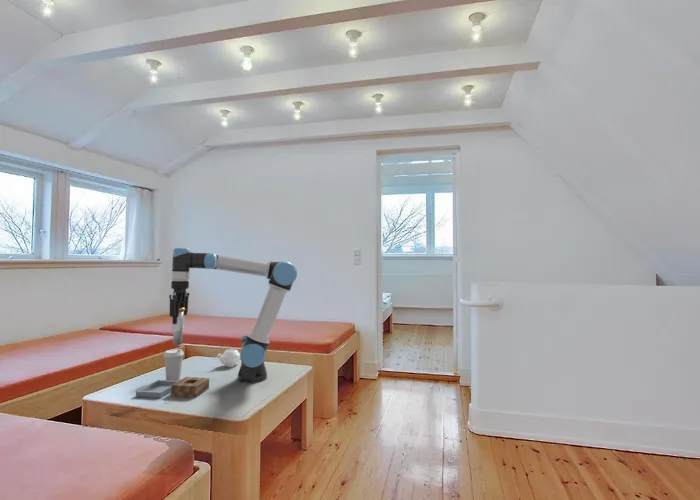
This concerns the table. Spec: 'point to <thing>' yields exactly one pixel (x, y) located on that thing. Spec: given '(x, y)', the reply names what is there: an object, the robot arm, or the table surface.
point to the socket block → (190, 387)
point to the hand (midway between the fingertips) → (178, 329)
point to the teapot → (229, 357)
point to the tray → (156, 389)
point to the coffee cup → (173, 364)
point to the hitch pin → (178, 334)
